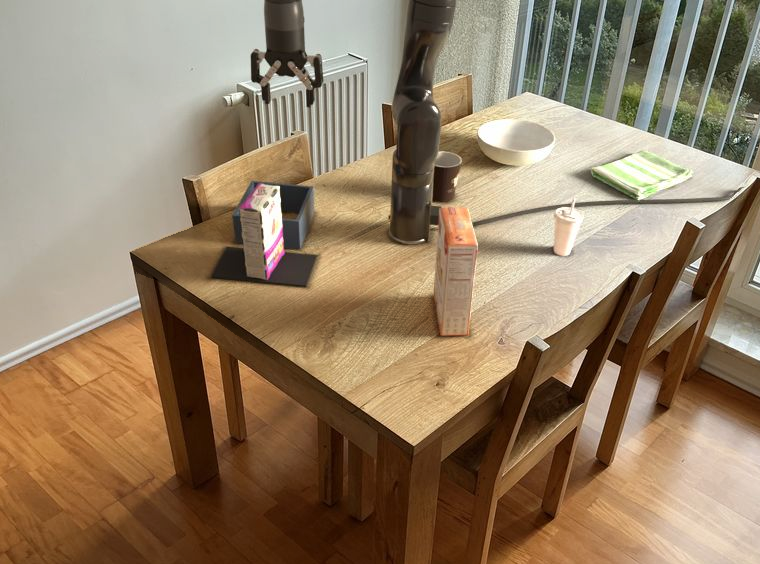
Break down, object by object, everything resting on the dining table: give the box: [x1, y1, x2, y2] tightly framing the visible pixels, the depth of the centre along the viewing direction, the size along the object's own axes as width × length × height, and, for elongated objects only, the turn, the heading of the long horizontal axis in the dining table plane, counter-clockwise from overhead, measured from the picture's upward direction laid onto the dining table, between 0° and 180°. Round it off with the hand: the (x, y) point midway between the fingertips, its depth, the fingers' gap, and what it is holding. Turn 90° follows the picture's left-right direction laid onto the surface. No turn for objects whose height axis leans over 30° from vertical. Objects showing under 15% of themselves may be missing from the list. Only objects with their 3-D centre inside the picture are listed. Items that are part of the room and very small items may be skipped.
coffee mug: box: [433, 150, 463, 204], centre depth 198 cm, size 12×9×10 cm
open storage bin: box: [231, 180, 315, 250], centre depth 182 cm, size 15×17×7 cm
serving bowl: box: [476, 118, 556, 167], centre depth 218 cm, size 21×21×7 cm
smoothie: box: [553, 196, 584, 257], centre depth 178 cm, size 6×6×14 cm
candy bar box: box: [239, 183, 286, 280], centre depth 166 cm, size 11×5×16 cm, turn 169°
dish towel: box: [590, 149, 694, 200], centre depth 214 cm, size 18×23×3 cm
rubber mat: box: [210, 246, 318, 288], centre depth 171 cm, size 20×12×1 cm, turn 85°
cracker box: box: [433, 206, 479, 337], centre depth 154 cm, size 14×6×21 cm, turn 5°
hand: (288, 104), depth 165 cm, fingers open, 8 cm apart
